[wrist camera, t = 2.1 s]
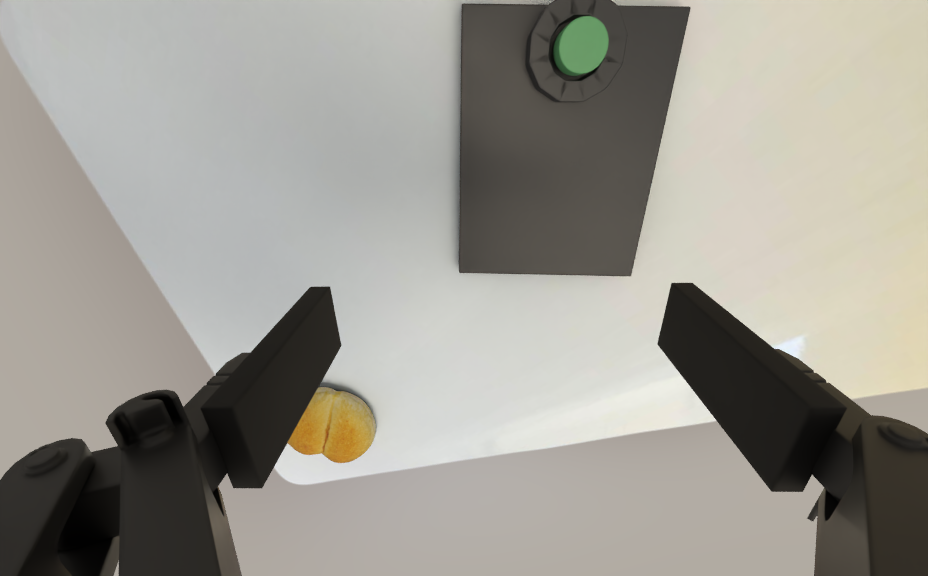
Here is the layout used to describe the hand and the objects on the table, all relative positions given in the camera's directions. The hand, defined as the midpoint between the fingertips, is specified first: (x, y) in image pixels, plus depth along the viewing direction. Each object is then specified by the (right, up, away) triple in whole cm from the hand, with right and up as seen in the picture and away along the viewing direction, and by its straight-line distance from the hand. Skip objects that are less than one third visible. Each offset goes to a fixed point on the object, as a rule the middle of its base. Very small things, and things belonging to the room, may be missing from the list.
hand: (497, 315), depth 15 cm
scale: (+5, +11, +13) cm, 18 cm away
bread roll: (-15, -12, +25) cm, 31 cm away
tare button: (+5, +16, +8) cm, 18 cm away
